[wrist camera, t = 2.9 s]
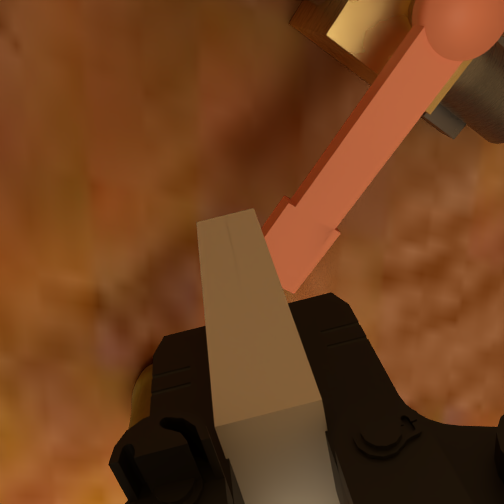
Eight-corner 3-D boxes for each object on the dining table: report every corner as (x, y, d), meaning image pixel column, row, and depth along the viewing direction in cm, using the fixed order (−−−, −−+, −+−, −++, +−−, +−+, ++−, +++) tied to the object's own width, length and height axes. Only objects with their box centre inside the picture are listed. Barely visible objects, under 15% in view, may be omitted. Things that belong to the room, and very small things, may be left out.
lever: (452, -57, 19) (471, -61, 18) (509, -2, 21) (529, -1, 20) (236, 255, 25) (239, 268, 24) (292, 283, 26) (297, 297, 25)
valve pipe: (181, -57, 27) (185, -81, 18) (249, -192, 25) (293, -296, 16) (447, 143, 35) (543, 196, 26) (517, 56, 33) (649, 81, 24)
